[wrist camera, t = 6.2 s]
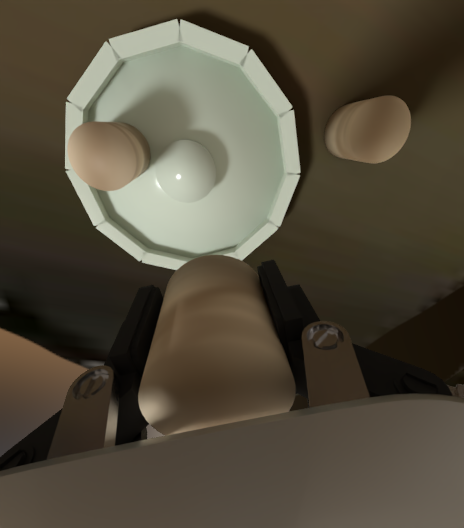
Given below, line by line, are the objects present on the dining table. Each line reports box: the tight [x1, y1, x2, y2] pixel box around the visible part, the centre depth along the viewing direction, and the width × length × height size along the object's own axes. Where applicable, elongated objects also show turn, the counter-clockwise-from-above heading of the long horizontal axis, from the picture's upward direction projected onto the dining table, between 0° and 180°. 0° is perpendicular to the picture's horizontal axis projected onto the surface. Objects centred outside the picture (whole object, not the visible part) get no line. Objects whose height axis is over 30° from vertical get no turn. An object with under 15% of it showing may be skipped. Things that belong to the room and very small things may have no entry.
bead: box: [67, 121, 151, 191], centre depth 20 cm, size 4×4×5 cm
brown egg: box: [324, 95, 411, 163], centre depth 21 cm, size 4×4×5 cm
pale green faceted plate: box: [65, 19, 301, 270], centre depth 23 cm, size 19×19×2 cm
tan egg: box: [138, 255, 296, 436], centre depth 10 cm, size 4×4×5 cm
